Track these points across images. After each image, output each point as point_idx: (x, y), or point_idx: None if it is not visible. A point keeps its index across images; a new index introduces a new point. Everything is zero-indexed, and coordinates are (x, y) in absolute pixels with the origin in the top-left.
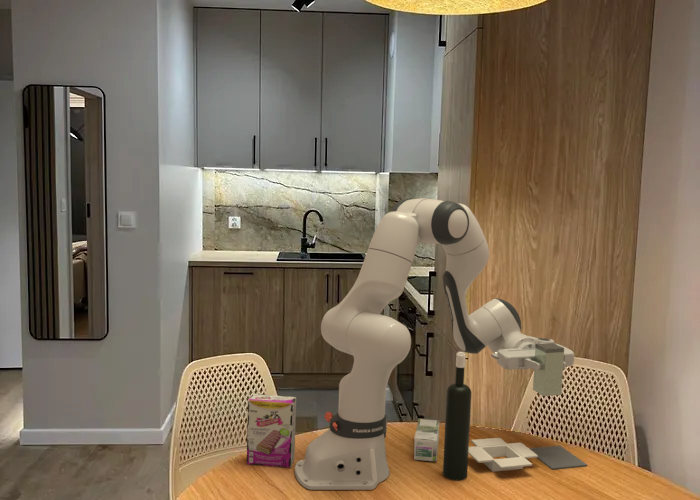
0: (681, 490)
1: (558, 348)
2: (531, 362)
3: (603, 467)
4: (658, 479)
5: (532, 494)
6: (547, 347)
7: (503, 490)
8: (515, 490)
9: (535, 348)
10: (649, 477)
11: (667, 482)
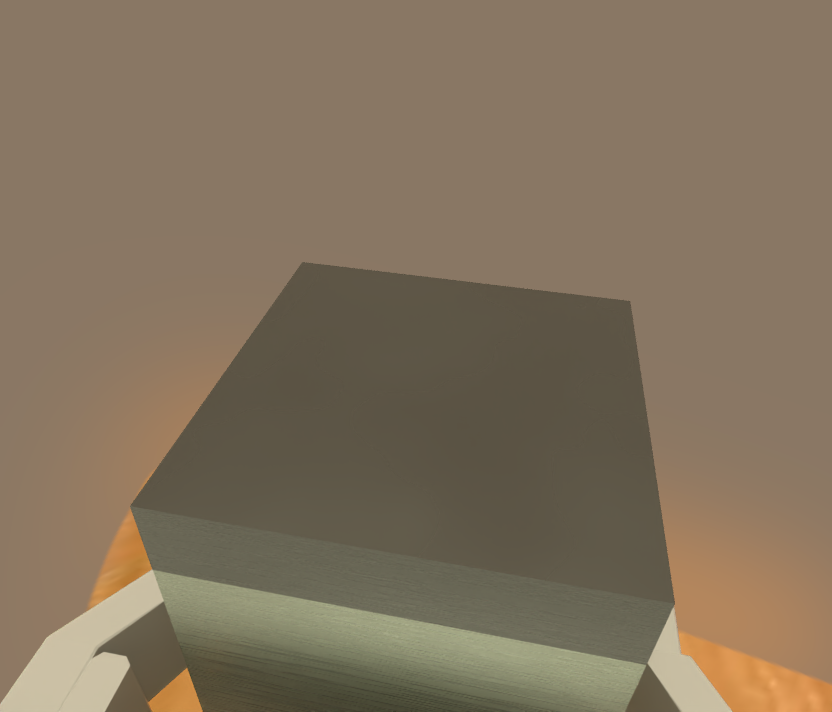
0: (154, 471)
1: (401, 275)
2: (713, 704)
3: (199, 704)
4: (126, 542)
5: (685, 633)
6: (547, 344)
7: (806, 708)
8: (748, 687)
9: (641, 662)
10: (135, 564)
11: (126, 517)
